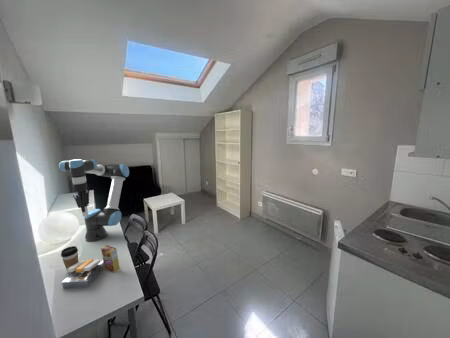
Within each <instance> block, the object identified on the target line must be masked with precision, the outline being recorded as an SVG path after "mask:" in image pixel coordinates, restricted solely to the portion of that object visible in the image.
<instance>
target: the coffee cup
mask: <svg viewBox="0 0 450 338" xmlns="http://www.w3.org/2000/svg"><path fill="white" fill-rule="evenodd" d="M78 251H79V250H78V247H77V246H73V245H72V246H68V247H66V248H64V249H62V250H61V251H60V252H61V254H60V257H62V262H63V264H64V266H65V269H66V270H65V271H66V272H67V274H71V273H72V272H68V268H69V267H71V266H73V265H74V264H76V263H78V262H79V253H78Z"/></svg>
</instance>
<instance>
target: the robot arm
mask: <svg viewBox="0 0 450 338" xmlns="http://www.w3.org/2000/svg"><path fill="white" fill-rule="evenodd" d="M58 168H59V170H60V171H62V172H70V177H71V181H72V188H73V190H75V195H72V198H73V199H74V201H75V203H76V205H77V208H78V209H79V208H80V210H81V213H82V217H84V218H83V220H84V224H85V229H86V232H85V237H84V239H85V242H97V241H100V240H102V239H104V238H106V237H107V235H108V233H107V230H106V228H105V227H112V226H116V225H119V223H120V221H121V219H122V212H121V211H120V208H119V203H120V198H121V193H122V188H123V182H124V181H126V178H128V177H129V176H130V169H129V167H128V165H126V164H125V163H117V164H116V163H115V164H113V163H111V164H109V163H108V164H98V162H97V161H96V160H95V159H87V160H86V159H85V160H83V159H81V158H78V159H77V158H76V159H70V160H63V161H60V162H59V163H58ZM86 174H93V175H94V174H95V175H96V176H101V177H104V178H105V177H106V178H110V179H111V184H110V188H109V193H108V197H107V202H106V207H103V210H101V209H100V208H95V209H91V210H88V207H89V204H90V189H88V183H87V177H86Z"/></svg>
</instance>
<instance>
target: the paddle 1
mask: <svg viewBox="0 0 450 338" xmlns="http://www.w3.org/2000/svg"><path fill="white" fill-rule="evenodd" d="M85 261H87V259H86V260H85V259H84V260H78V263H76V264H74V265H73V266H71V267H69V268H68V272H73V271H75V269H77V268H78V267H79V266H80V265H82V264H83V263H84V262H85Z"/></svg>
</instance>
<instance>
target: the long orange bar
mask: <svg viewBox="0 0 450 338" xmlns="http://www.w3.org/2000/svg"><path fill="white" fill-rule="evenodd" d="M93 260H94V258H89V259H86V261H85V262H84V263H83V264H82V265H80V266H79V267H78V268H77V269H75V270H76V272H82V271H83V270H84V267H86V266H87V265H88V264H90V263H91V262H93Z"/></svg>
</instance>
